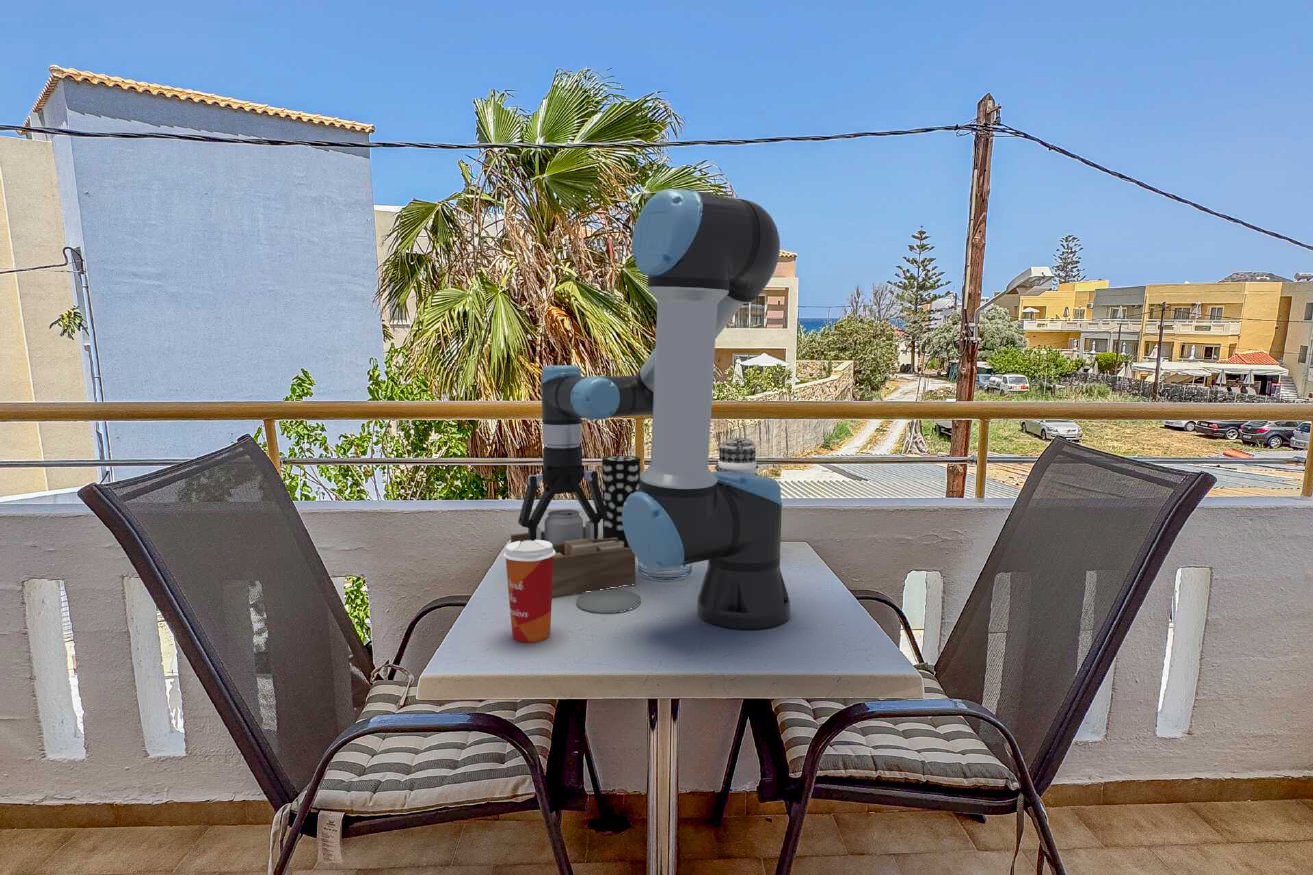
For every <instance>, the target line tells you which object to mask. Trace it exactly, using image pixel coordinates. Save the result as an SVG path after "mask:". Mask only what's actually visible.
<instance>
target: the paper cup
mask: <svg viewBox="0 0 1313 875" xmlns="http://www.w3.org/2000/svg"><path fill="white" fill-rule="evenodd" d="M555 553H556V552H555V550H554V549H553V545H552V543H550V542H548V541H544V540H534V541H531V540H525V541H524V542H521V544H520V541H516V542H513V543H511V542H510V543H508V544H507V545H506V547H505V551H504V552H503V558H504V559H505V564H506V575H507V576H506V577H507V578H506V580H507V589H508V590H507V591H508V601H509V611H510V612H509V614H510V623H511V633H512V638H513V639H514V640H515V641H516V642H518V643H524V644H532V643H538V642H542V641H544V640H547V639H548V638H549V637H550V635H551V624H552V623H551V621H552V605H553V604H552V600H553V598H552V580H553V556H554V555H555Z"/></svg>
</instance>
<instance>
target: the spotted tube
mask: <svg viewBox="0 0 1313 875" xmlns="http://www.w3.org/2000/svg"><path fill="white" fill-rule="evenodd" d="M601 469H602V472H601V473H602V474H601V475H602V479H601V480H602V482H601V483H602V499H603V502H604V506H605V509H606V512H607V518H605V519H604V518H603V519H602V539H605V538H613V537H617V538H618V543H619V544H620V545H622V546H624V547H625V548H628V547H630V546H629V544H628V542H627V539H626V536H625V533H624V529H623V523H622V510H623V505H624V502H625V501H626V499H627V497H628V496H630V495H631V494H633V493H635V492H638V491H639V482H640V474H641V457H638V456H633V455H613V456H612V455H610V456H604V457H602V458H601Z"/></svg>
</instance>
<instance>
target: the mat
mask: <svg viewBox="0 0 1313 875" xmlns="http://www.w3.org/2000/svg"><path fill="white" fill-rule="evenodd" d="M575 601H576V602H575V603H576V607H577V606H578V607H579V608H578V607H577V608H578V609H580V608H581V609H580V610H582V611H584V610H586V611H585V612H587V611H589V612H588V613H591V612H592V613H591V614H598V613H614V614H616V613H615V612H620V611H624V610H629V609H630V608H634V607H635V606H637V605H638V604H639V603H640V604H641V597H640V595H639V594H637V593H635V592H633V591H629V590H624V589H618V588H613V589H603V590H595V591H591V592H587V593H581V594H579V595H578V596H577V598H576V600H575ZM593 612H594V613H593Z"/></svg>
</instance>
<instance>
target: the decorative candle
mask: <svg viewBox="0 0 1313 875" xmlns="http://www.w3.org/2000/svg"><path fill="white" fill-rule="evenodd" d="M717 447H718V448H719V450H718V452H719V456H718V457H719V458H718V464H716V465H715V466H714V470H715V471H722V472H736V473H745V474H753V475H759V474H758V473H756V470H757V469H759V465H757V459H756V456H757V454H756V449H757V448H758V446H757V445H756V444H755V443H754V441H753V440H752V439H750V438H746V437H745V438H744V437H730V438H725V439H724V440H723V441H722V443H721V444H720V445H718V446H717Z"/></svg>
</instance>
